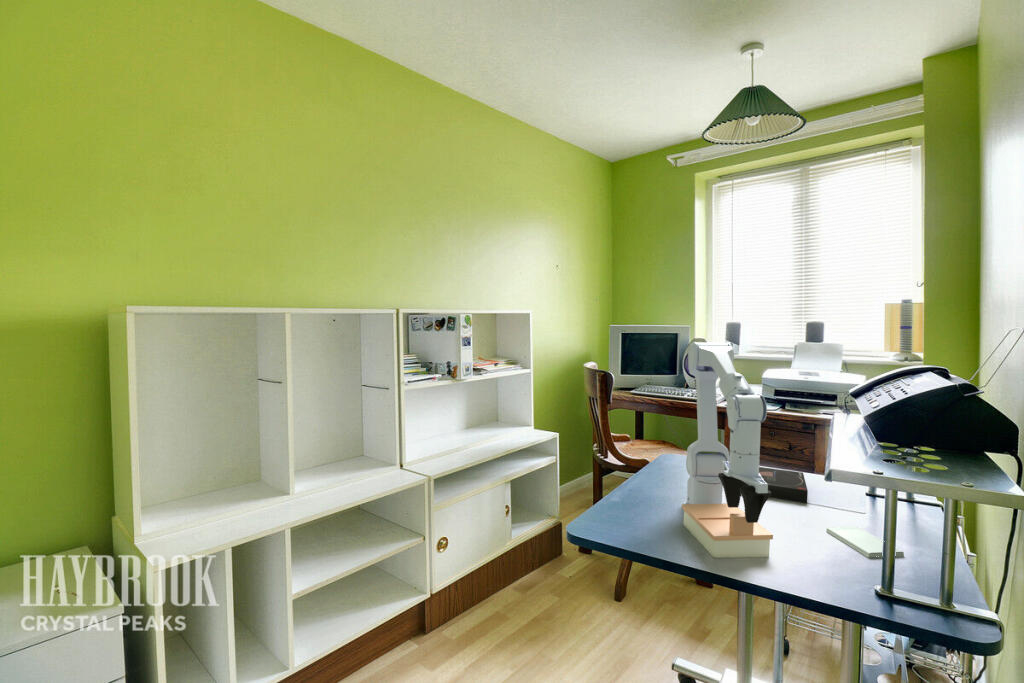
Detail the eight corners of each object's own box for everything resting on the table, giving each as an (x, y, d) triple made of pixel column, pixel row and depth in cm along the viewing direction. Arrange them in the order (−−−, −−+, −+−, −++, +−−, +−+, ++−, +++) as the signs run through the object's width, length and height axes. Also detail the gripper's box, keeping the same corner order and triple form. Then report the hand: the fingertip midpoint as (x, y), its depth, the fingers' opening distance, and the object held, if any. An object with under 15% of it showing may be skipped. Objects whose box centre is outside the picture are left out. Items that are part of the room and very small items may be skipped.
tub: (683, 524, 120) (684, 508, 120) (731, 523, 121) (731, 508, 121) (714, 558, 104) (714, 539, 104) (769, 556, 105) (769, 538, 105)
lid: (681, 508, 120) (682, 488, 120) (732, 507, 121) (733, 487, 121) (713, 540, 104) (714, 517, 103) (772, 539, 105) (773, 516, 104)
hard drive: (904, 551, 106) (858, 525, 118) (868, 552, 105) (826, 526, 117) (903, 559, 106) (858, 532, 118) (868, 560, 105) (825, 533, 117)
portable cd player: (740, 476, 157) (740, 464, 156) (802, 485, 149) (803, 472, 149) (738, 494, 142) (738, 480, 142) (807, 505, 134) (807, 490, 134)
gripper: (710, 442, 111) (708, 501, 112) (744, 462, 96) (741, 529, 97) (740, 441, 111) (738, 500, 112) (779, 461, 97) (776, 529, 98)
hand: (742, 514), depth 105 cm, fingers open, 7 cm apart
